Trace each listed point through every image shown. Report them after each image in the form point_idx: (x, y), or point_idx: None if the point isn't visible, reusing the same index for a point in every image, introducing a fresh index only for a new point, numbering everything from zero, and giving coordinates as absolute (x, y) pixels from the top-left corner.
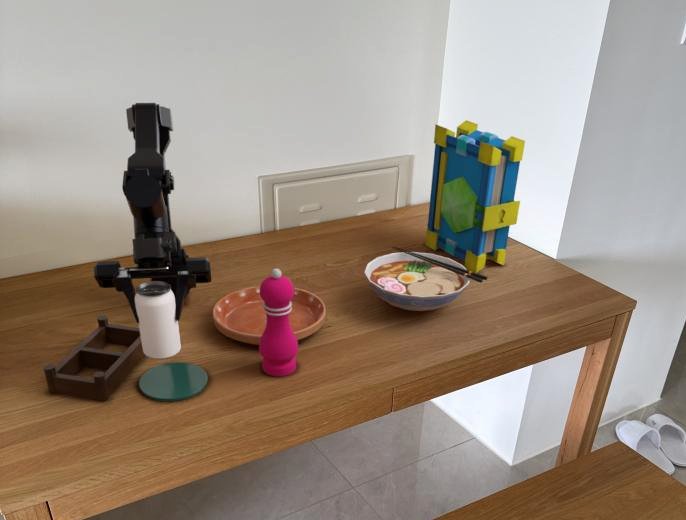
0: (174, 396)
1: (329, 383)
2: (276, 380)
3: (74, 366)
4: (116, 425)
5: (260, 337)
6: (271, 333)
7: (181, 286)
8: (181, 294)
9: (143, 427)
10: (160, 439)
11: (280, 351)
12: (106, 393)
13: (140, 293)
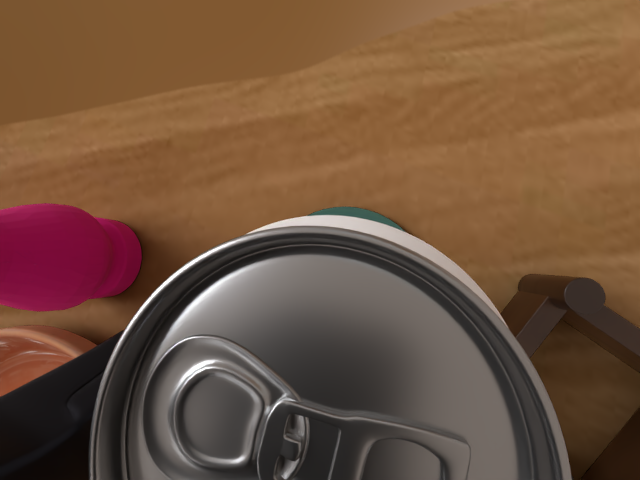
0: (357, 216)
1: (49, 162)
2: (133, 211)
3: (619, 471)
4: (515, 158)
5: (80, 351)
6: (9, 227)
7: (13, 424)
8: (96, 361)
9: (452, 130)
10: (423, 74)
11: (51, 204)
12: (532, 278)
13: (496, 437)
